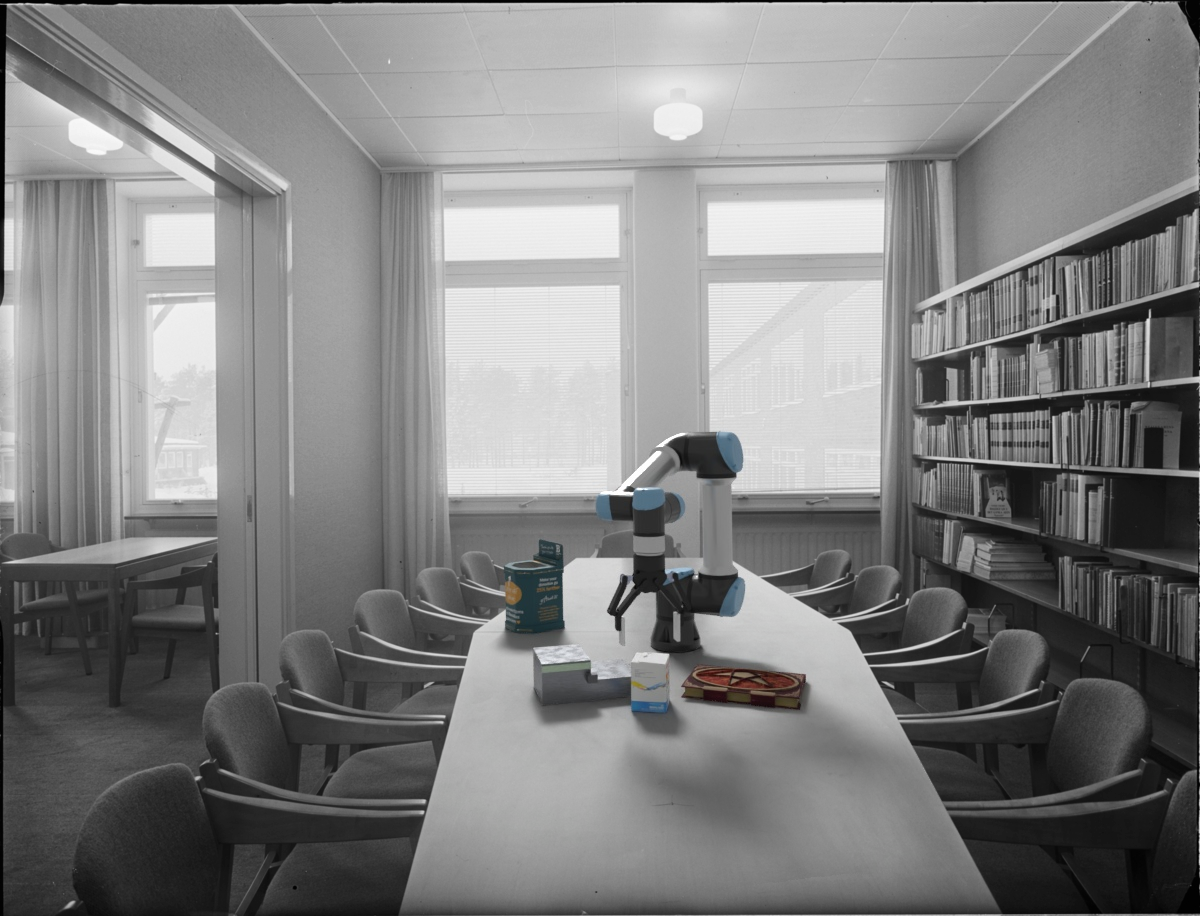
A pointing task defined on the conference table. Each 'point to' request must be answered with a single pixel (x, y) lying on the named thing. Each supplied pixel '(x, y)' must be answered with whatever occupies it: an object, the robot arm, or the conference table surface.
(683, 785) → the conference table surface
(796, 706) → the book
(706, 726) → the conference table surface
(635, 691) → the ink box
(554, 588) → the donation box
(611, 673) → the stepped stand
